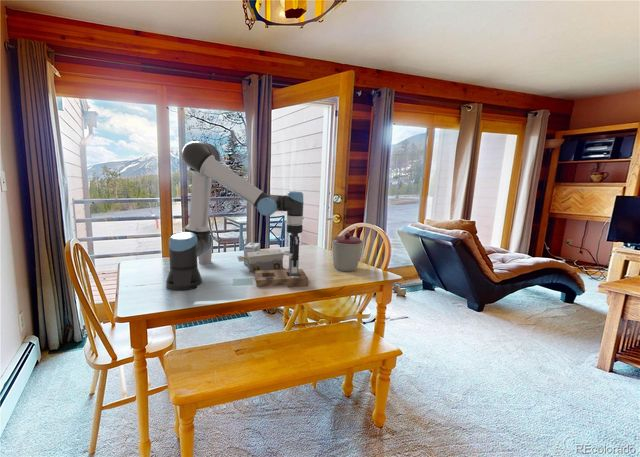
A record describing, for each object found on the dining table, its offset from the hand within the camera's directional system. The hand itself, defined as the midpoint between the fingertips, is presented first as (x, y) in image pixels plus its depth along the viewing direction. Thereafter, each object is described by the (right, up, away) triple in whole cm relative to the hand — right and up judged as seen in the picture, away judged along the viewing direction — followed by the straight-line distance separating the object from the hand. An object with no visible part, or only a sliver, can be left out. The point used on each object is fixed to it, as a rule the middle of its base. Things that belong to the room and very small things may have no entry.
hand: (293, 271), depth 159 cm
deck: (-24, -5, -5) cm, 25 cm away
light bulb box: (-26, +1, +29) cm, 39 cm away
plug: (0, -2, 0) cm, 2 cm away
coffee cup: (-52, +1, +25) cm, 58 cm away
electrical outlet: (-17, -2, +17) cm, 24 cm away
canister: (+27, -2, +26) cm, 37 cm away
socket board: (-6, -5, 0) cm, 8 cm away
